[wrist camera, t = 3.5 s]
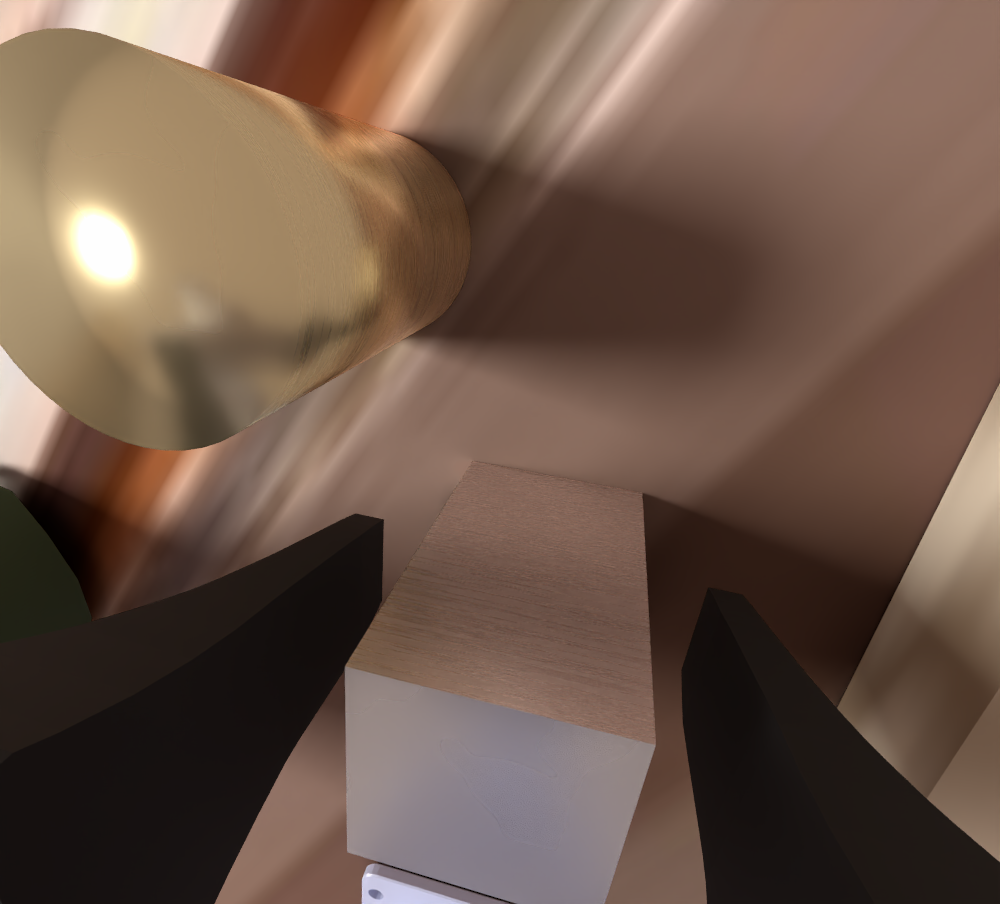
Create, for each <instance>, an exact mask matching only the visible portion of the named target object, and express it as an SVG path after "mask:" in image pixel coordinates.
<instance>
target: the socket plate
mask: <svg viewBox="0 0 1000 904" xmlns="http://www.w3.org/2000/svg"><path fill="white" fill-rule="evenodd" d="M837 709H838V710H839V711H840V712H841V713H842V714H843V715H844V717H845V718H846V719H847V720H848V721H849V722H850V723H851V724H852V725H853V726H854V727H855V728H856V729H857V731H858V732H859V733H860V734H861V735H862V736H863V737H864V738H865V739H866V740H867V741H868V742H869V743H870V744H871V745H872V746H873V747H874V748H875V749H876V750H877V751H878V752H879V753H880V754H881V755H882V756H883V757H884V758H885V759H886V760H887V761H888V762H889V763H890V764H891V765H892V766H893V767H894V768H895V769H896V770H897V771H898V772H899V773H900V774H901V775H902V776H904V777H905V778H906V779H907V780H908V781H909V782H910V783H911V784H912V785H913V786H914V787H915V788H916V789H917V790H918V791H919V792H920V793H921V794H922V795H923V796H924V797H926V798H927V799H928V800H929V801H930V802H931V803H932V804H933V805H934V806H936V807H937V808H938V809H939V810H940V811H941V812H942V813H943V814H944V815H946V816H947V817H948V818H949V819H950V820H951V821H952V822H953V823H955V824H956V825H957V826H958V827H959V828H960V829H962V830H963V831H964V832H965V833H966V834H967V835H969V836H970V837H971V838H972V839H973V840H974V841H976V842H977V843H978V844H979V845H980V846H982V847H983V848H984V849H985V850H986V851H987V852H989V853H990V854H991V855H992V856H993V857H994V858H996V859H997V860H998V861H999V862H1000V384H999V386H998V388H997V390H996V392H995V394H994V396H993V398H992V400H991V402H990V404H989V406H988V408H987V410H986V412H985V414H984V416H983V418H982V420H981V422H980V424H979V426H978V428H977V430H976V432H975V434H974V436H973V438H972V440H971V442H970V444H969V446H968V448H967V450H966V452H965V454H964V456H963V458H962V460H961V462H960V464H959V466H958V468H957V470H956V472H955V474H954V476H953V478H952V480H951V482H950V484H949V486H948V488H947V490H946V492H945V494H944V496H943V498H942V500H941V502H940V504H939V506H938V508H937V510H936V512H935V514H934V516H933V518H932V520H931V522H930V524H929V526H928V528H927V530H926V532H925V534H924V536H923V538H922V540H921V542H920V544H919V546H918V548H917V550H916V552H915V554H914V556H913V558H912V560H911V562H910V564H909V566H908V568H907V570H906V572H905V574H904V576H903V578H902V580H901V582H900V584H899V586H898V588H897V590H896V592H895V594H894V596H893V598H892V600H891V602H890V604H889V606H888V608H887V610H886V612H885V614H884V616H883V618H882V620H881V621H880V623H879V625H878V627H877V629H876V631H875V633H874V635H873V637H872V639H871V641H870V643H869V645H868V647H867V649H866V651H865V653H864V655H863V657H862V659H861V661H860V663H859V665H858V667H857V669H856V671H855V673H854V675H853V677H852V679H851V681H850V683H849V685H848V687H847V689H846V691H845V693H844V695H843V697H842V699H841V701H840V703H839V705H838V707H837Z"/></svg>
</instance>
